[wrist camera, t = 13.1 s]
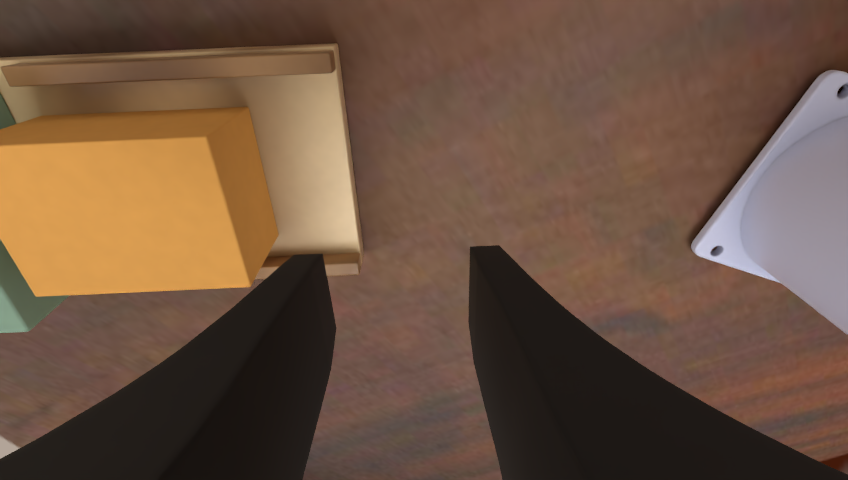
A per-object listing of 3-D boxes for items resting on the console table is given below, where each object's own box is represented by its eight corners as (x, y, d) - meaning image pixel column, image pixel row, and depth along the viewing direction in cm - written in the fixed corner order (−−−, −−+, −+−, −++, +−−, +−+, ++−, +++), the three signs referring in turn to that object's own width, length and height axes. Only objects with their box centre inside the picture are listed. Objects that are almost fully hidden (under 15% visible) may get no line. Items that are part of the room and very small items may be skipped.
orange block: (248, 106, 14) (206, 136, 11) (279, 235, 17) (250, 287, 14) (40, 115, 14) (-57, 147, 11) (102, 243, 17) (35, 297, 14)
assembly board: (338, 43, 15) (329, 48, 13) (364, 253, 19) (360, 277, 17) (-169, 64, 14) (-238, 72, 13) (-28, 271, 19) (-68, 296, 17)
